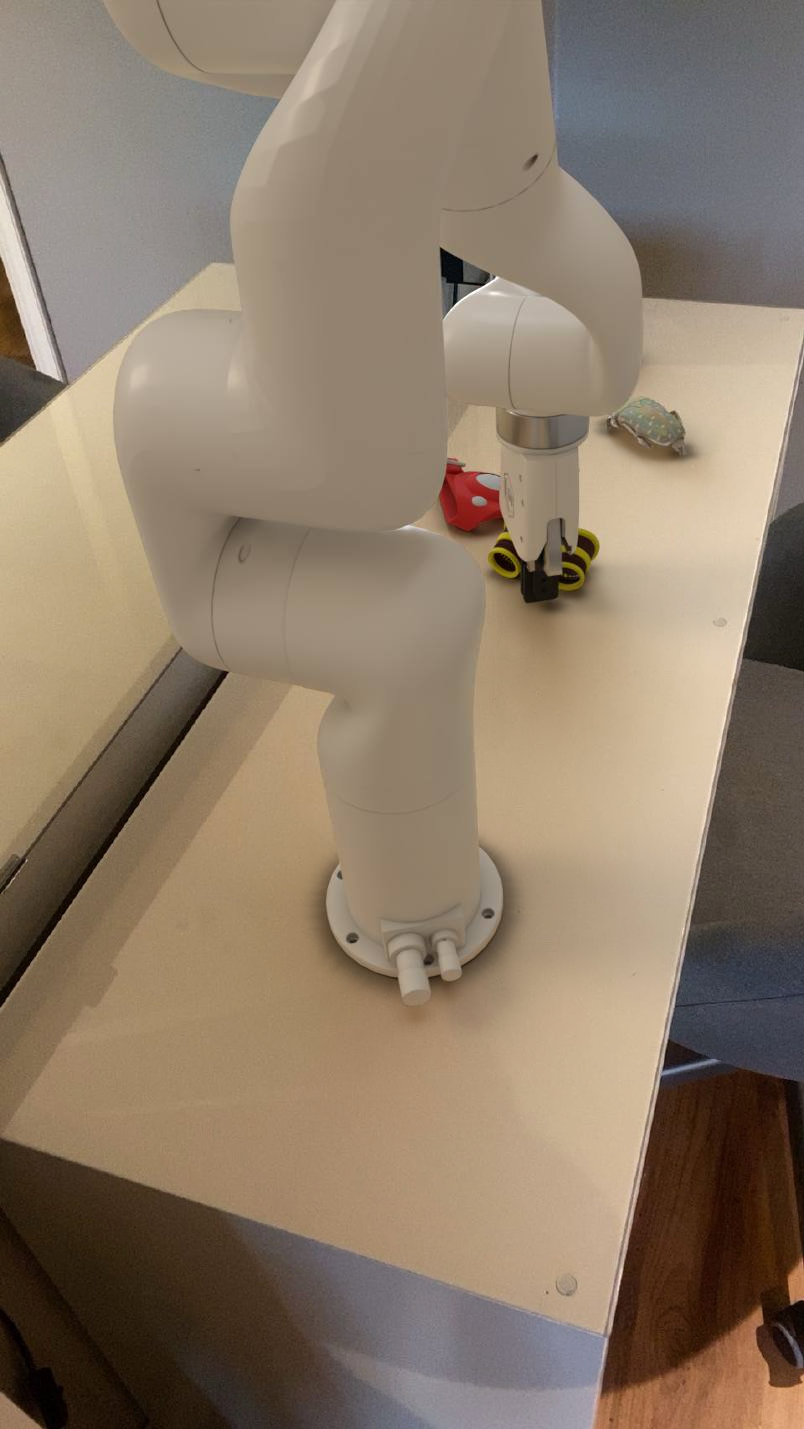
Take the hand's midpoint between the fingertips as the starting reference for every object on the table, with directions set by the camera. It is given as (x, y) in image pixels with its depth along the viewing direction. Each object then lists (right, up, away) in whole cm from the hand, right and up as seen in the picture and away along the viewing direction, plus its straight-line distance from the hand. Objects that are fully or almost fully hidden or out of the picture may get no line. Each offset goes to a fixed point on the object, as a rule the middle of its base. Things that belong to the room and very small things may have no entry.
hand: (539, 595), depth 97 cm
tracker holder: (-5, +11, +14) cm, 19 cm away
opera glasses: (+1, +3, +4) cm, 5 cm away
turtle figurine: (+15, +20, +21) cm, 33 cm away
